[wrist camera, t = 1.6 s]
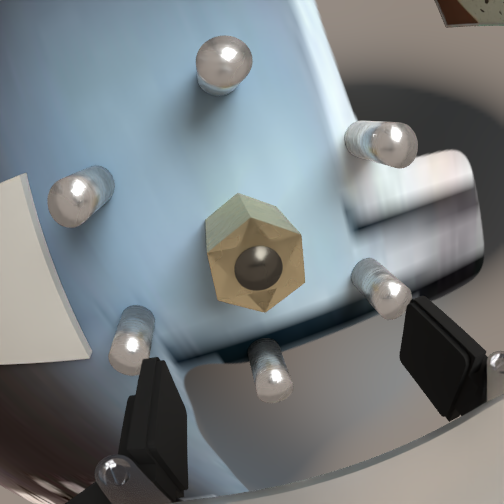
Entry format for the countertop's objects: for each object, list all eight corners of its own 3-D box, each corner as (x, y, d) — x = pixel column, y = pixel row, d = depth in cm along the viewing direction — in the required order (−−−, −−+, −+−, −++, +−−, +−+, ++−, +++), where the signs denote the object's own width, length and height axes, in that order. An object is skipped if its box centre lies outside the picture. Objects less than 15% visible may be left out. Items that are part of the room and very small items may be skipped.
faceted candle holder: (201, 199, 21) (201, 227, 16) (273, 186, 22) (299, 209, 16) (216, 275, 23) (222, 322, 18) (282, 262, 24) (307, 304, 18)
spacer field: (60, 97, 17) (25, 92, 12) (366, 50, 18) (404, 37, 14) (149, 381, 26) (144, 422, 22) (375, 332, 28) (400, 364, 24)
